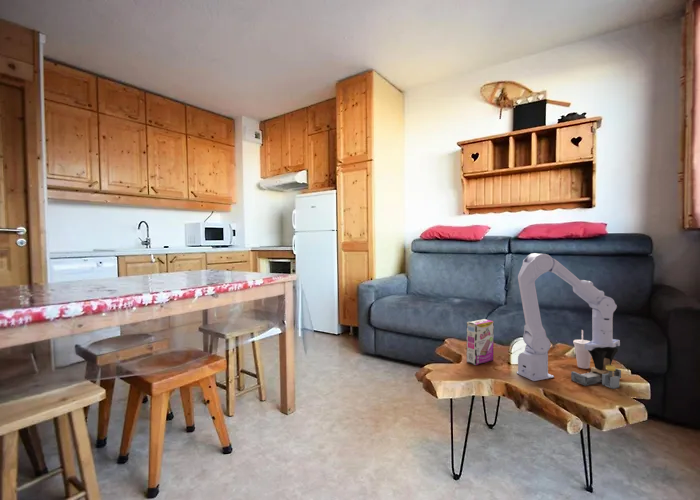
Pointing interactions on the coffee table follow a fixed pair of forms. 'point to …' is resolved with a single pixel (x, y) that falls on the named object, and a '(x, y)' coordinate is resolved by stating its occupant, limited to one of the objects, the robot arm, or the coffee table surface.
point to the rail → (590, 377)
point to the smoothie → (582, 353)
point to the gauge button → (610, 370)
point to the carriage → (603, 371)
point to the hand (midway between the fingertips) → (602, 368)
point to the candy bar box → (480, 341)
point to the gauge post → (610, 381)
